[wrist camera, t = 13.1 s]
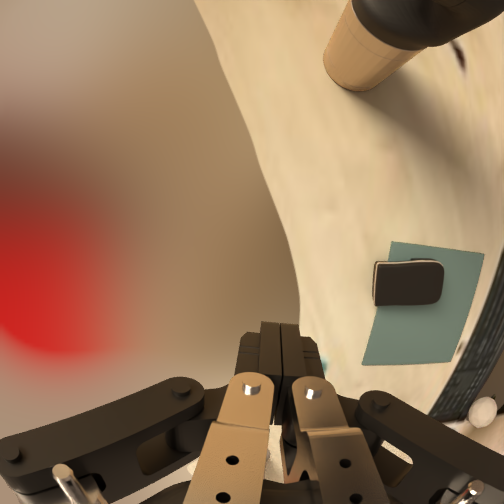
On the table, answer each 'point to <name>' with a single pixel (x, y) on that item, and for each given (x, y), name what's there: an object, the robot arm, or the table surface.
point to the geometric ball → (482, 412)
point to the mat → (426, 312)
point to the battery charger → (407, 282)
